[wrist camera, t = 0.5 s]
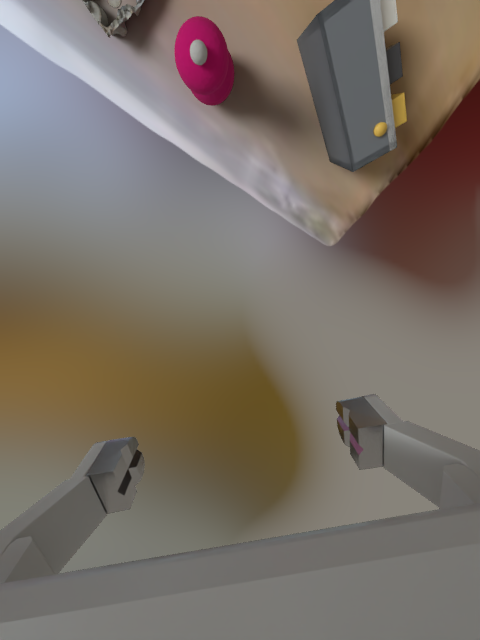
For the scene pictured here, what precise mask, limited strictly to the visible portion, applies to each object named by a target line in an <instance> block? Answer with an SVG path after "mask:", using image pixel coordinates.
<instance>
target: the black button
mask: <svg viewBox="0 0 480 640" xmlns="http://www.w3.org/2000/svg"><path fill="white" fill-rule="evenodd" d="M386 57H387V65H388V74H389V82H390V84H391V83H393V82H394V81H396V80H398V79H399V78H401V77H402V76H403V74H402V63H401V52H400V42H398V43H396V44H394V45H392V46H390V47H388V48H386Z"/></svg>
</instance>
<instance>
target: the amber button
mask: <svg viewBox="0 0 480 640" xmlns="http://www.w3.org/2000/svg"><path fill="white" fill-rule="evenodd" d="M391 99H392V107H393V116H394V124H395V128H396V127H398V126H399V125H401V124H403V123H405V122H406V121H407V118H406V107H405V96H404V93H398V94H392V95H391Z"/></svg>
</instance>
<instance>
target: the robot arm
mask: <svg viewBox="0 0 480 640" xmlns="http://www.w3.org/2000/svg"><path fill="white" fill-rule="evenodd" d="M336 410H337V412H338V414H339V417H338V418H337V426H338V430H339V434H340V436H341V439H342V440H343V442H344V444H345V445H346V446H348V447H350V454H351V456H352V458H353V459H354V461H355V463H356V464H357V466H358V468H359V470H362V469H370V468H377V467H384V468H385V469H386V470H388V471H389V472H390V473H392V474H393V475H394V476H396V477H397V478H399V479H400V480H401V481H403V482H404V483H406V484H407V485H409V486H410V487H411V488H413V489H414V490H416V491H417V492H418V493H420V494H421V495H422V496H424V497H425V498H427V499H428V500H429V501H431V502H432V503H434V504H435V505H437V506H438V507H439V510H432V511H426V512H421V513H415V514H409V515H403V516H397V517H391V518H385V519H379V520H373V521H367V522H362V523H356V524H349V525H343V526H338V527H332V528H326V529H320V530H314V531H308V532H302V533H296V534H290V535H285V536H279V537H273V538H267V539H261V540H255V541H249V542H243V543H237V544H231V545H225V546H220V547H214V548H208V549H201V550H196V551H190V552H184V553H178V554H172V555H166V556H160V557H154V558H149V559H142V560H136V561H131V562H124V563H119V564H113V565H107V566H101V567H95V568H90V569H83V570H78V571H72V572H65V573H60V574H58V573H59V572H60V571H61V570H62V568H63V567H64V566H65V565H66V564H67V562H68V561H69V560H70V558H72V556H73V555H74V554H75V553H76V552H77V550H78V549H79V548H80V547H81V546H82V544H83V543H84V542H85V541H86V540H87V538H88V537H89V536H90V535H91V534H92V532H93V531H94V530H95V529H96V528H97V526H98V525H99V524H100V523H101V522H102V520H103V519H104V518H105V517H106V516H107V514H109V513H114V512H119V511H124V510H129V509H130V508H131V505H132V503H133V500H134V498H135V495H136V492H137V490H136V487H135V486H136V485H137V484H138V482H139V481H140V480H141V479H142V476H143V473H144V466H145V464H144V457H143V455H142V453H141V452H140V451H138V450H137V447H138V445H139V444H138V441H137V439H136V438H135V437H128V438H121V439H115V440H109V441H102V442H97V443H95V444H94V445H93V446H92V447H91V449H90V450H89V452H88V453H87V455H86V456H85V457H84V459H83V460H82V462H81V463H80V465H79V466H78V468H77V469H76V471H75V472H74V474H73V475H72V477H71V478H70V479H69V480H65V481H64V482H62V483H61V484H60V485H58V486H57V487H56V488H54V489H53V490H52V491H51V492H49V493H48V494H47V495H45V496H44V497H43V498H42V499H40V500H39V501H38V502H36V503H35V504H34V505H33V506H31V507H30V508H29V509H27V510H26V511H25V512H23V513H22V514H21V515H20V516H18V517H17V518H16V519H14V520H13V521H12V522H10V523H9V524H8V525H7V526H5V527H4V528H3V529H1V530H0V640H480V451H479V450H477V449H475V448H472V447H470V446H467V445H465V444H463V443H460V442H458V441H455V440H453V439H450V438H448V437H446V436H443V435H441V434H438V433H436V432H433V431H431V430H428V429H426V428H424V427H421V426H419V425H416V424H414V423H411V422H409V421H404V422H403V421H402V420H401V419H400V418H399V417H398V416H397V415H396V414H395V413H394V412H393V411H392V410H391V409H390V408H389V407H388V406H387V405H386V404H385V403H384V402H383V401H382V400H381V399H380V398H379V397H378V396H377V395H376V394H371V395H367V396H362V397H357V398H353V399H346V400H341V401H337V402H336Z"/></svg>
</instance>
